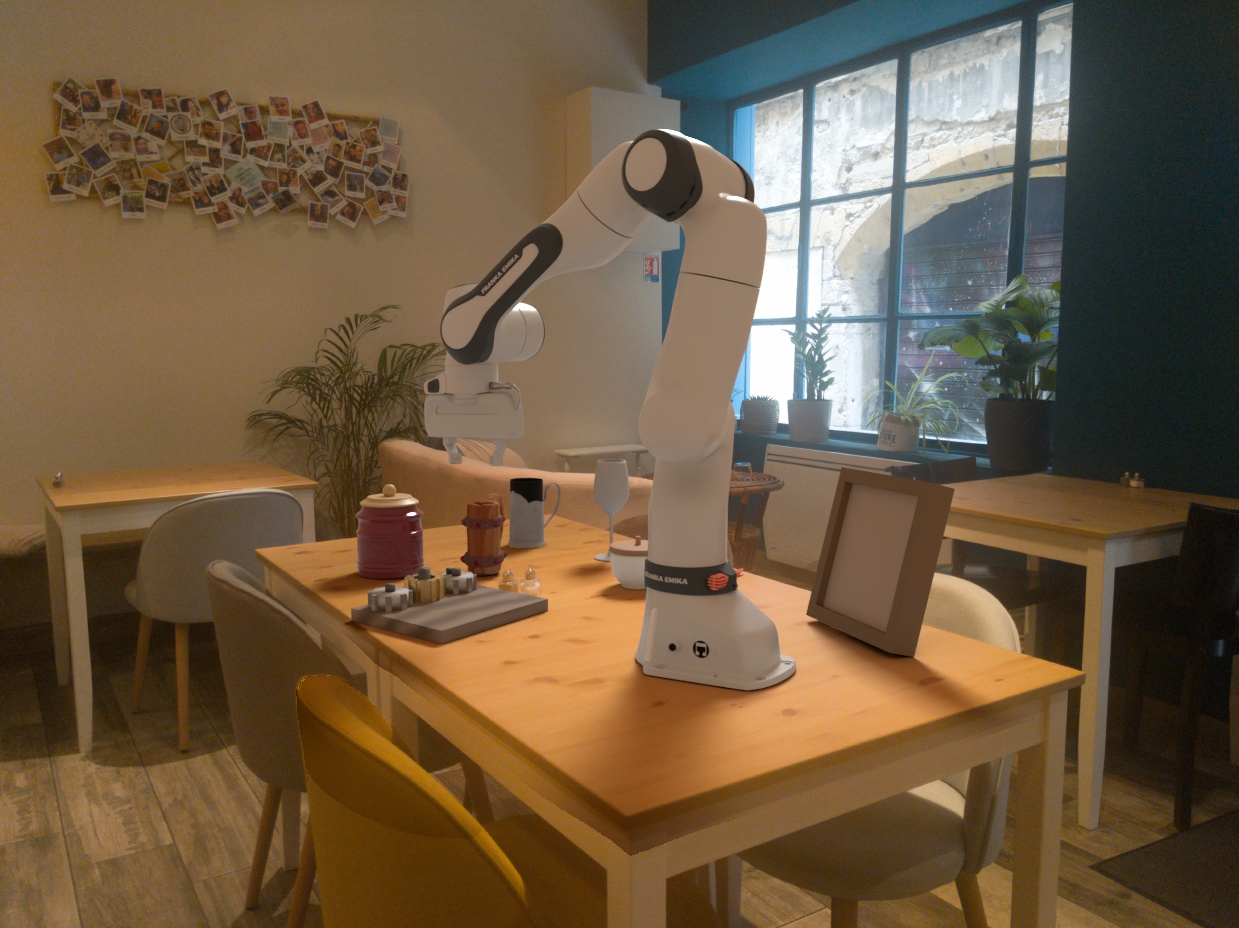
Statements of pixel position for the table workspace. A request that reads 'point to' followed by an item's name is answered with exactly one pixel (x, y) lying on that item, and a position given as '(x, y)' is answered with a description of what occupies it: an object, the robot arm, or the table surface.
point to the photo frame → (880, 558)
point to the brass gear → (426, 587)
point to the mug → (484, 536)
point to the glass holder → (528, 512)
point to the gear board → (446, 608)
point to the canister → (389, 535)
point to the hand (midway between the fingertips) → (475, 464)
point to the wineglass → (611, 491)
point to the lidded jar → (629, 562)
